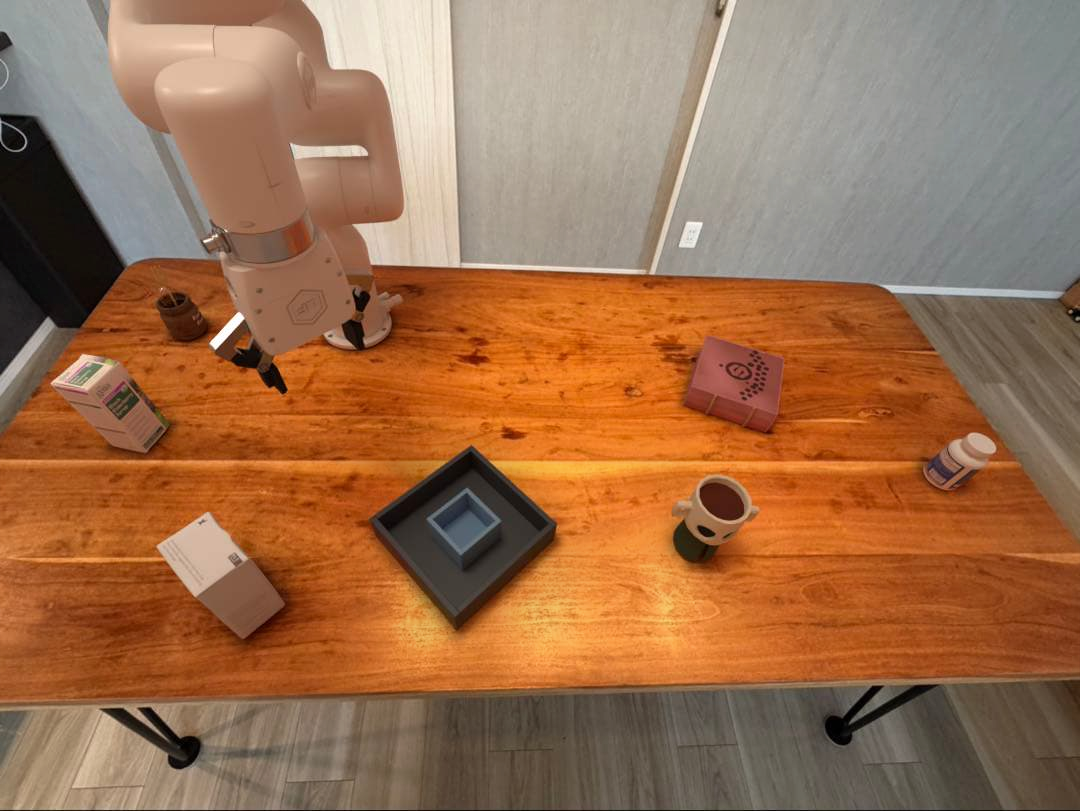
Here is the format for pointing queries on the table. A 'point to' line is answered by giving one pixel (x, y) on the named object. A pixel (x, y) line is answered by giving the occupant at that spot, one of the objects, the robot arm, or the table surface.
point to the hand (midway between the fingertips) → (318, 364)
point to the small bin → (464, 528)
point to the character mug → (711, 516)
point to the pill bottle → (959, 461)
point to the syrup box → (112, 402)
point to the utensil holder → (179, 312)
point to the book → (736, 383)
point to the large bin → (426, 560)
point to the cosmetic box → (221, 575)
